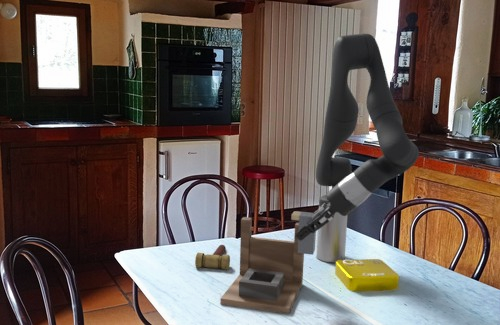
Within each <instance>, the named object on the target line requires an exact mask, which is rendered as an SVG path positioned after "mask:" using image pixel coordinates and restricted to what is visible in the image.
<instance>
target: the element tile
mask: <svg viewBox="0 0 500 325" xmlns="http://www.w3.org/2000/svg"><path fill="white" fill-rule="evenodd" d="M334 275H335V276H336V277H337V279H339V280H340V282H341V283H342V284H343V286H345V288H346V289H347V290H348V291H350V292H380V291H381V292H382V291H397V290H398V289H399V282H400V274H398V273H397V271H395V270H394V269H393V268H391V267H390V266H389V265H388V264H387V263H385V262H384V260H381V258H380V259H379V258H370V259H368V258H365V259H363V258H361V259H344V260H337V261H336V262H335V272H334Z"/></svg>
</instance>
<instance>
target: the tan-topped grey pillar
mask: <svg viewBox="0 0 500 325" xmlns="http://www.w3.org/2000/svg"><path fill="white" fill-rule="evenodd" d="M314 215H315V212H310V211H309V212H307V211H297V210H296V211H293V212H292V213H291V215H290V216H291V218H290V219H291V220H292V221H298V223H299V231H300V230H301V229H302V228H303V227H304V226H306V224H307V223H309V222H310V221H311V220H312V217H313V216H314ZM291 220H290V221H291ZM312 226H313V227H314V228H315V227H316V226H315V225H314V224H312ZM316 233H317V231H316V232H315V233H310V234H309V235H308V236H306V237H305V238H304V239H303V240H301V241H300V240H299V239H298V253H302V254H304V255H314V253H315V251H316V240H317V238H316V236H317V234H316Z"/></svg>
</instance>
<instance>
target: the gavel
mask: <svg viewBox="0 0 500 325" xmlns="http://www.w3.org/2000/svg"><path fill="white" fill-rule="evenodd" d="M225 251H226V246H225V244H219V245H218V247H217V248H216V249H215V251H214V252H213V253H212V254H209V253H208V254H205V253H204V252H197V253H196V254H195V259H194V261H195V262H194V266H195V268H199V269H202V268H210V269H221V270H225V271H228V270H229V269H230V265H231V256H230V255H229V254H224V253H225Z"/></svg>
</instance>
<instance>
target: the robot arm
mask: <svg viewBox="0 0 500 325" xmlns="http://www.w3.org/2000/svg"><path fill="white" fill-rule="evenodd" d="M361 69H362V70H363V69H366V70H367V72H368V74H369V79H370V83H369V87H368V91H367V95H366V96H367V97H366V102H365V103H366V104H365V105H366V110H367V113H368V115H369V117H370V121H371V122H372V124H373V127H374V129H375V131H376V138H377V140H378V144H379V149H380V150H381V153H382V156H380V157H378V158H376V159H373V158H372V159H371V158H370V159H367V160H366V161H365V162H363V163H362V164H361V165H360V166H359V167H357V168H355V170H353V172H352V163H351V160H350V159H349V158H347V157H333V156H334V154H335V152H336V151H337V150H338V149H339V148H340V147H341V146H342V145H343V144H344V143H345V142H346V141H347V140H348V139H349V138H350V137H351V136H352V135H353V133H354V132H355V130H356V127H357V123H358V118H359V112H360V110H359V104H358V102H357V100H356V98H355V96H354V95H353V93H352V91H351V89H350V87H349V84H348V83H349V82H348V81H349V80H348V79H349V78H348V77H349V73H350V71H353V70H361ZM330 78H331V80H330V89H329V97H328V101H327V102H328V103H327V105H326V112H325V119H324V126H323V135H322V141H321V142H322V143H321V145H320V146H321V147H320V151H319V155H318V158H317V164H316V170H315V180H316V183H317V185H319V186H322V187H331V189H330V190H329V191H327V192H326V193H325V195H324V194H323V195H322V196H321V197H319V200H318V209H317V210H315V211H314V213H315V215H314V216H313V217H312V220H311V221H310V222H309V223H307V224H306V226H304V227H303V228H302V229H301V230H300V231H298V232H297V233H296V237H297V238H298V239H299V240H300V241H301V240H303V239H304V238H305V237H306V236H308V235H309V234H310V233H315V232H316V233H317V235H316V236H317V238H316V242H317V243H316V256H315V257H316V259H318V260H320V261H322V262H326V263H336V261H337V260H346V258H345V257H346V246H347V244H346V243H347V228H348V215H349V214H350V213H352V212H353V211H354V210H355V209H357V208H358V207H359V206H360V205H361V204H363V203H364V202H365V201H366V200H367V199H368V198H369V197H370V196H371V195H372V194H373V193H374V192H375V191H377V190H378V189H379V188H381V186H383V185H384V184H385V183H386V182H388V181H389V180H392V179H394V178H396V177H398V176H399V175H401V174H403V173H405V172H406V171H408V170H409V169H411V167H413V166H414V165H415V163H416V162H417V161H418V158H419V153H420V152H419V149H418V146H417V145H416V144H415V143H414V142H413V141H412V140H411V139H410V138H409V137H408V135H407V133H406V131H405V129H404V126H403V124H404V123H403V122H404V121H403V118H402V116H401V112H400V110H399V109H398V106H397V104H396V102H395V99H394V97H393V95H392V92H391V90H390V85H389V82H388V78H387V74H386V70H385V66H384V62H383V58H382V55H381V51H380V48H379V45H378V42H377V39H375V37H374V36H373V34H371V33H357V34H347V35H341V36H339V37H338V38H336V40H335V43H334V46H333V51H332V63H331V77H330ZM312 224H314V225H315V226H316V227H315V228H314V227H313V226H312ZM298 230H299V229H298Z"/></svg>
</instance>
